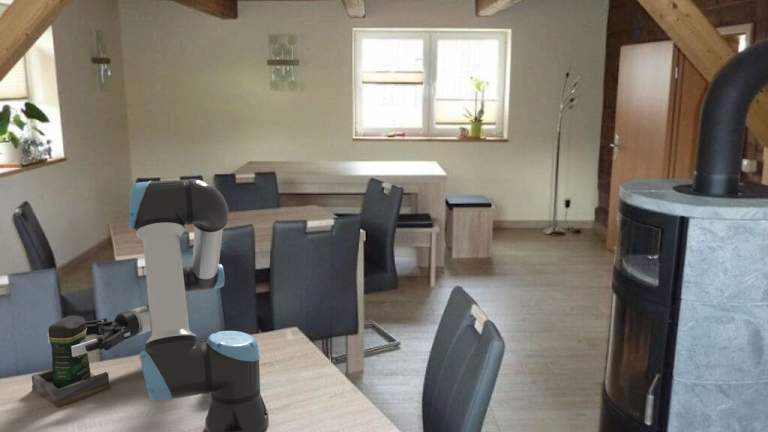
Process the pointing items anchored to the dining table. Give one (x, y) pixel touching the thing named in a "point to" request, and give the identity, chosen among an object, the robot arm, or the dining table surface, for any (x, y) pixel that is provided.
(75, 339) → the coffee jar
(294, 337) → the dining table surface
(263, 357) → the dining table surface
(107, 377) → the rail dock
